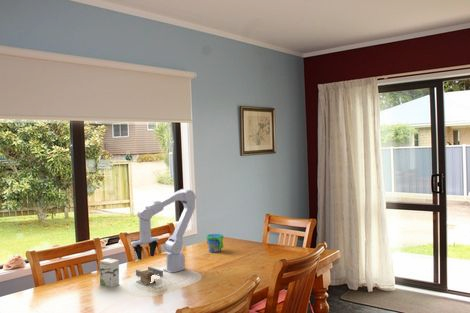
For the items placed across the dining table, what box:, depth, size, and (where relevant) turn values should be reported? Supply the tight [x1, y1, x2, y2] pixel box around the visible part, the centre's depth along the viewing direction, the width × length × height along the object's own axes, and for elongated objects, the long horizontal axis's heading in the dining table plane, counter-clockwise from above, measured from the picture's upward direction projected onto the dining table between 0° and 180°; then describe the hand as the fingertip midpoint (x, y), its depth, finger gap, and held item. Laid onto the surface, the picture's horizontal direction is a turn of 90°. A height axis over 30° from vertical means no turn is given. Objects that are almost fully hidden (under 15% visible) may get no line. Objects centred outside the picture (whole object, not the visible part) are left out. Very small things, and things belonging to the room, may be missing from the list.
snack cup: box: [205, 233, 224, 254], centre depth 264 cm, size 16×10×10 cm
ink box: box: [99, 257, 120, 288], centre depth 204 cm, size 9×5×12 cm, turn 60°
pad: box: [135, 279, 148, 286], centre depth 206 cm, size 6×8×1 cm
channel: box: [135, 266, 164, 277], centre depth 217 cm, size 8×12×2 cm
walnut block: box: [139, 269, 156, 285], centre depth 205 cm, size 4×6×5 cm
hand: (145, 257), depth 217 cm, fingers open, 7 cm apart
